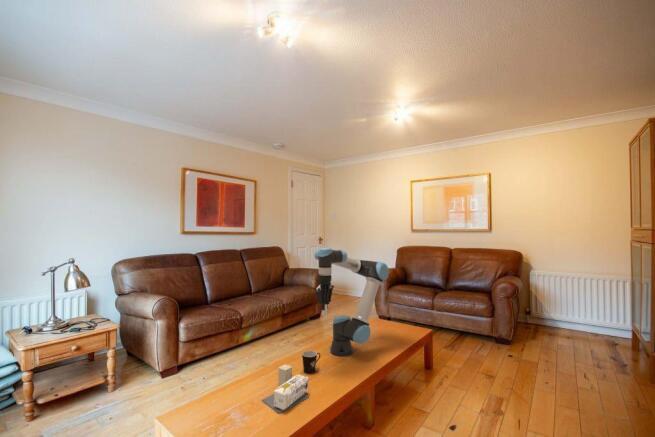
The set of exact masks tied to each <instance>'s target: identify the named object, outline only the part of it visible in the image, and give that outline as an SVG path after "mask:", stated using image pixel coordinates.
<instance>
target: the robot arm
mask: <svg viewBox="0 0 655 437" xmlns="http://www.w3.org/2000/svg"><path fill="white" fill-rule="evenodd" d="M313 256H314V258H315V259H316V260H317V261H318V286H317V287H315V292H316V295H317V300H318V304H319V305H321V315H322V316H323V317H328V310H329V305H330V303H331V301H332V295H333V290H334V288H335V286H334V285H333V284H332V265H335V266H338V267H341V268H344V269H347V270H350V271H351V272H352V273H354V274H358V275H359V276H362V277H365V281H366V282H365V285H364V288H363V291H362V294H361V297H360V300H359V304H358V306H357V309H356V312H355V315H354V316H350V315H339V316H335V317H334V318H333V320H332V341H331V345H330V347H329V350H330V353H331V354H332V355H333V356H338V357H347V356H350V355H351V356H352V355H353V352H354V347H353V345H352V342H354V343H356V344H359V345H360V344H361V345H362V344H365V343H367V341H369V339H370V337H371V333H372V332H371V327H370V322H369V318H370V315H371V312H372V308H373V306H374V302H375V299H376V296H377V294H378V290H379V288H380V287H379V286H380V285H382V284H383V282H384V281H386V280H387V279H388V278H389V275H390V274H389V273H390V272H389V271H390V270H389V266H388V265H387V264H386V263H385V262H383V261H382V262H381V261H373V260H363V259H362V260H361V259H358V258H355V259H353V258H350V257H348V253H347V252H346V250H344V249H338V250H337V249H332V248H331V247H320V248H317V249H316V250H315V251H314V254H313ZM351 317H352V318H351Z"/></svg>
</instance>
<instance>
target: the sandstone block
mask: <svg viewBox="0 0 655 437" xmlns="http://www.w3.org/2000/svg"><path fill="white" fill-rule="evenodd" d="M292 373H293V366H292V365H289V364H283V365H281V366H279V367H278V379H277V380H278V383H277V384H278V386H279V387H280V386H281V385H283V384H284V383H285V382H287V381H288V380H290V379H291V378H293V374H292Z"/></svg>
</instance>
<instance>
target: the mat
mask: <svg viewBox="0 0 655 437" xmlns="http://www.w3.org/2000/svg"><path fill="white" fill-rule="evenodd" d="M309 398H310V396H309V395H307V394H306V393H305V394H304V395H302V396H301V397H300V398H299V399H297V400H296V401H295V402H294V403H292V404H291V405H290V406H289V407H287V408H286V409H285V410H282V409H280V408H278V407H275V406H274V393H273V394H271V395H269V396H266V397H264V398H262V399H261V401H262V402H263V403H264V404H265V405H267V406H268V407H269V408H271V409H272V410H273V411H275V413H277V414H278V415H279V414H281V413H283V412H285V411H287V410H289V409H291V408H292V407H294V406H296V405H298V404H300V403H302V402H304V401H306V400H307V399H309Z"/></svg>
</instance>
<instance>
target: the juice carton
mask: <svg viewBox="0 0 655 437" xmlns="http://www.w3.org/2000/svg"><path fill="white" fill-rule="evenodd" d="M307 392H309V376H306V375H303V374H299V373H298V374H296V375H294V376H292V378H291V379H290V380H288V381H287V382H285V383H284V384H283V385H281V386H280V385H279V386H278V387H277V388H276V389H274V390H273V394H274V406H275V407H278V408H280V409H282V410H285V409H286V408H287V407H289V406H290V405H291V404H292V403H294V402H295V401H296V400H297V399H299V398H300V397H301V396H302V395H304V394H305V395H306V394H307ZM285 411H286V410H285Z"/></svg>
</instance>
